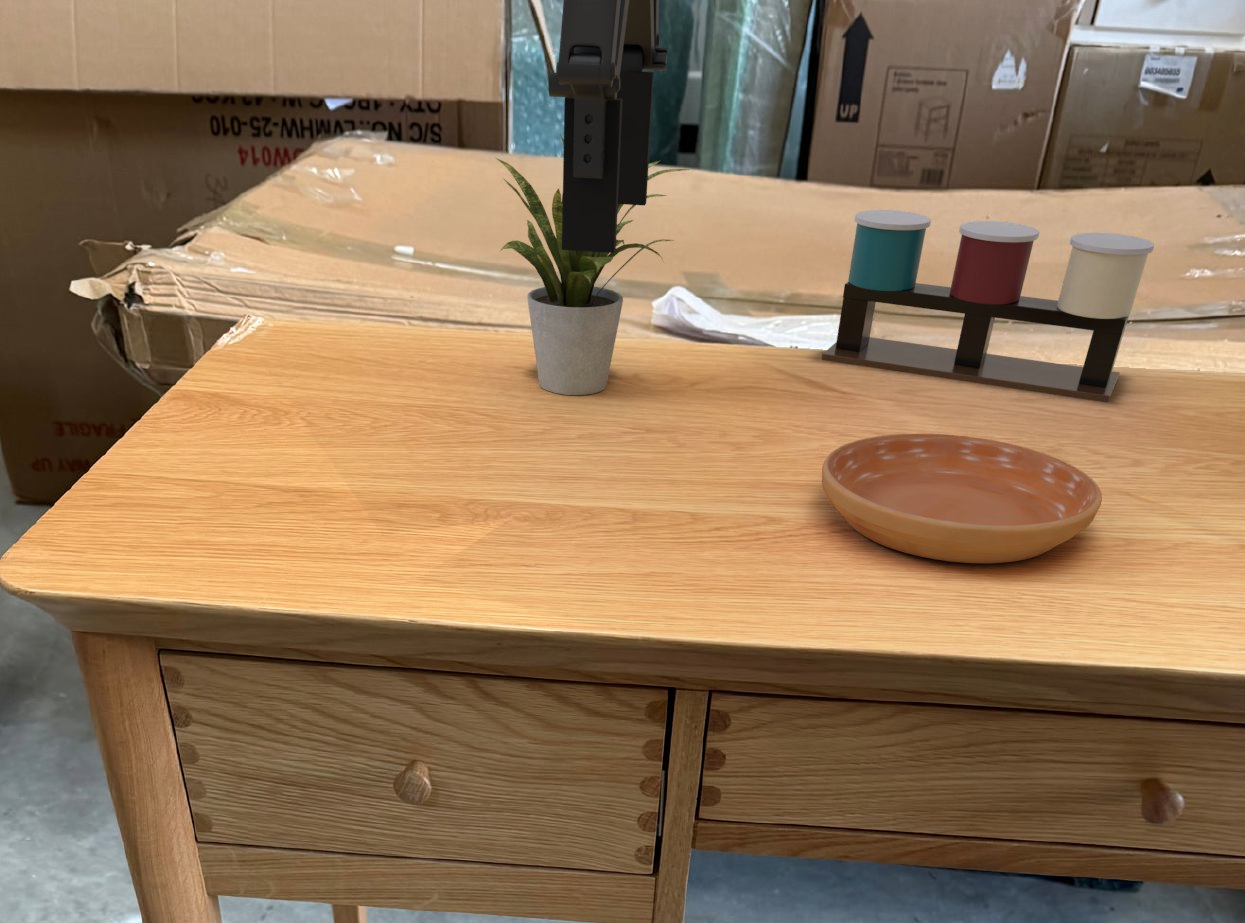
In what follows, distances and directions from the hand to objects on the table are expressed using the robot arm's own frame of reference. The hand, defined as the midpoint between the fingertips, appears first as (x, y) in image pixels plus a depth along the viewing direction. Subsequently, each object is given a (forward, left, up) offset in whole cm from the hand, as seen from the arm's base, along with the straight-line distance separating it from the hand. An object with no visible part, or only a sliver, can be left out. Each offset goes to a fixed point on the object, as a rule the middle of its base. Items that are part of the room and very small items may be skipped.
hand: (607, 225), depth 67 cm
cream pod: (-3, -43, -8) cm, 44 cm away
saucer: (-16, -14, -15) cm, 26 cm away
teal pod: (+11, -35, -8) cm, 37 cm away
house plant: (+17, -11, -15) cm, 25 cm away
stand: (+4, -39, -14) cm, 42 cm away
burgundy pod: (+4, -39, -8) cm, 40 cm away
